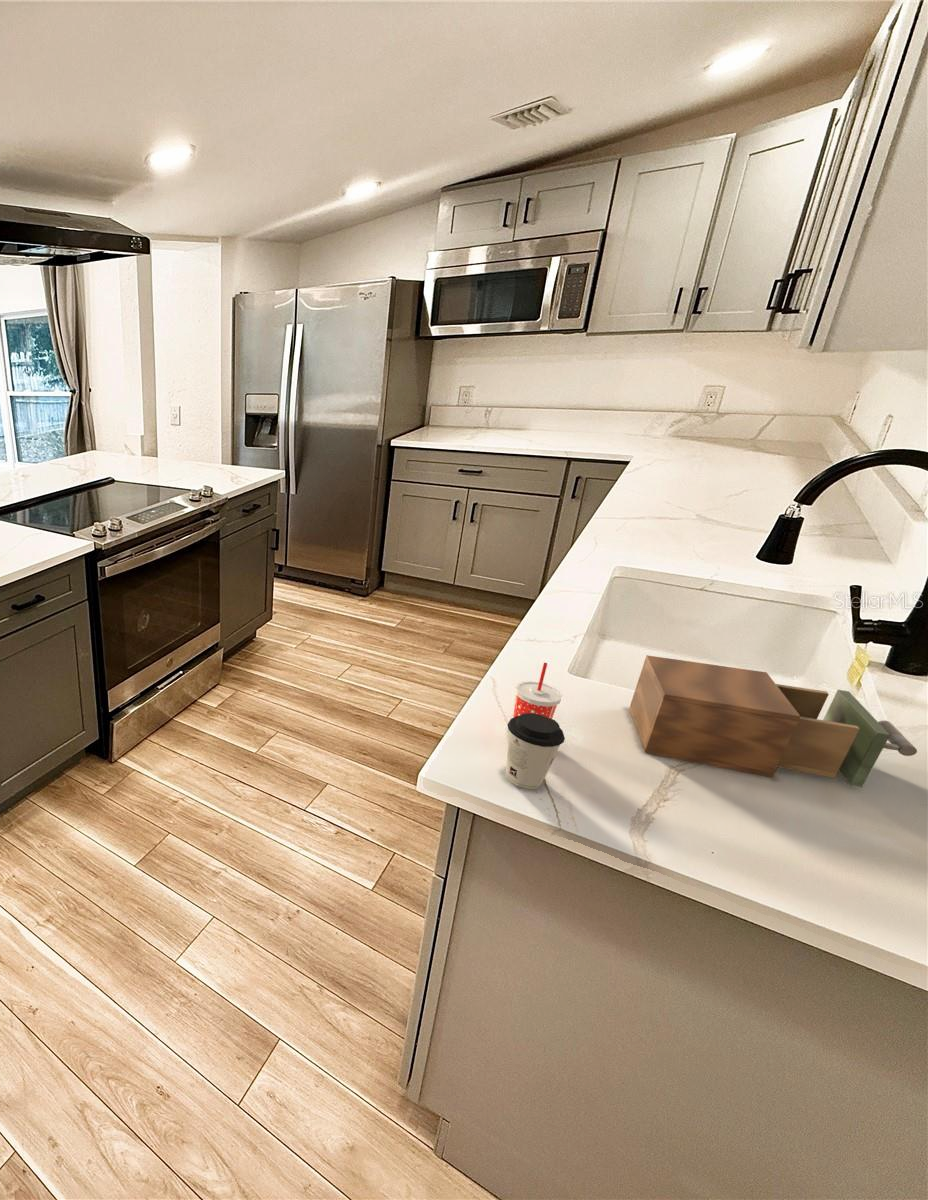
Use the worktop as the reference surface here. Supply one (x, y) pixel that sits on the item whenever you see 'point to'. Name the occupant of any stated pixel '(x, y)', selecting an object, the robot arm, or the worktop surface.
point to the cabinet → (712, 715)
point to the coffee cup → (531, 749)
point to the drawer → (837, 736)
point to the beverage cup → (536, 697)
